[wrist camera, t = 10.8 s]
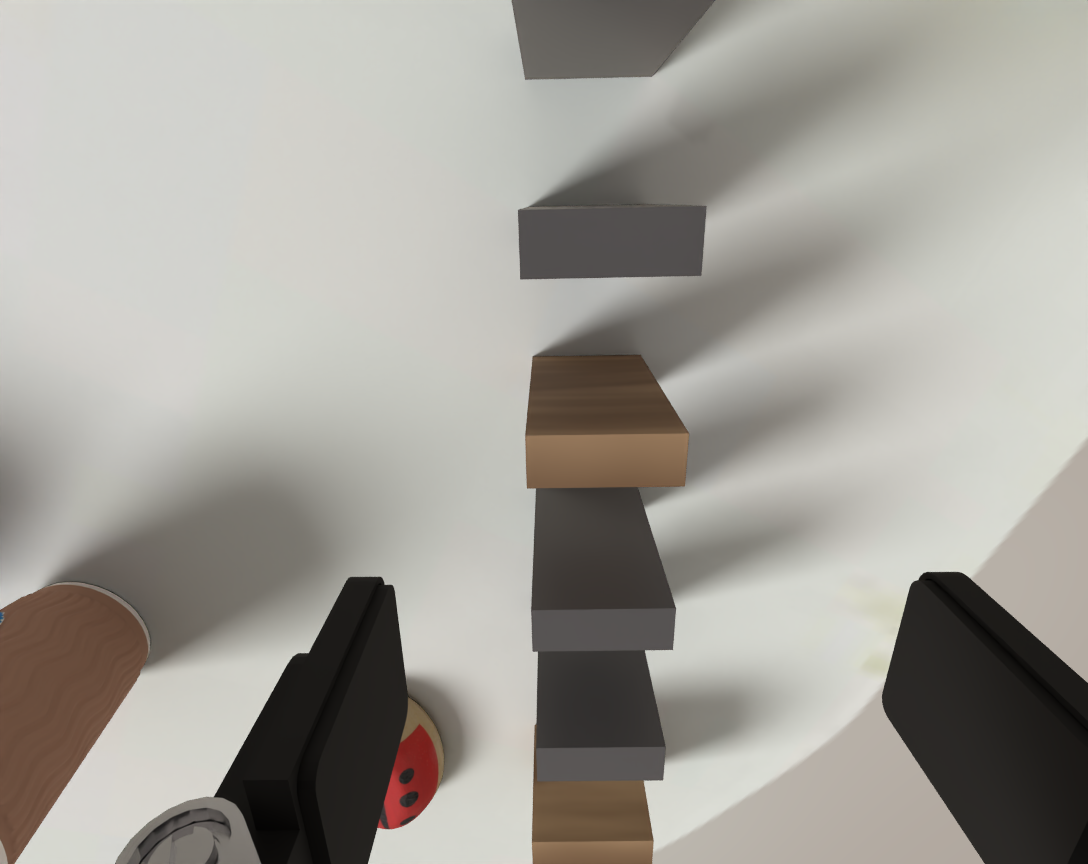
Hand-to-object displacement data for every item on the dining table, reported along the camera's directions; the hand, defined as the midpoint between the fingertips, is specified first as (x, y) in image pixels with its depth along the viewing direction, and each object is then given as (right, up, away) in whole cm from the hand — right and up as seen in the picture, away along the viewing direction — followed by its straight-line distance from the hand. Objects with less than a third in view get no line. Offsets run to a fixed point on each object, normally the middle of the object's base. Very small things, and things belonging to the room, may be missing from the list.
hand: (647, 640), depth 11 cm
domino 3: (0, +6, +17) cm, 18 cm away
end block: (+1, -16, +26) cm, 30 cm away
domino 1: (0, +19, +12) cm, 22 cm away
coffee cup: (-28, -7, +23) cm, 37 cm away
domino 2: (0, +13, +15) cm, 19 cm away
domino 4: (0, 0, +19) cm, 19 cm away
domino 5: (0, -6, +22) cm, 22 cm away
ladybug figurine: (-11, -15, +26) cm, 32 cm away
